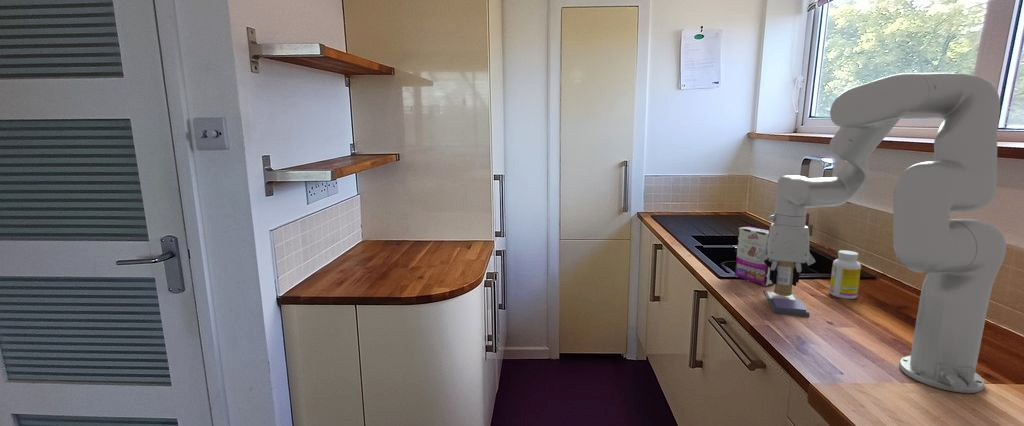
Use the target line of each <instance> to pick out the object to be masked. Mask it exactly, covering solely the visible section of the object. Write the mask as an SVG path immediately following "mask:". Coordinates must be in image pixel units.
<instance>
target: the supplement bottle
mask: <svg viewBox="0 0 1024 426" xmlns="http://www.w3.org/2000/svg"><path fill="white" fill-rule="evenodd" d="M837 256H838V258H836V259H834V260H833V262H832V267H831V277H830V285H829V293H830V295H832V296H834V297H836V298H840V299H843V300H844V299H845V300H853V299H854V300H855V299H856V298H857V297H858V294H859V293H858V292H859V287H860V279H861V278H860V277H861V272H862V271H861V270H862V265H861V263H860V262H859V261H857V260H858V259H859V253H858V252H856V251H852V250H845V249H843V250H842V249H841V250H839V251H838V252H837Z"/></svg>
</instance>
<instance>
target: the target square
mask: <svg viewBox="0 0 1024 426" xmlns="http://www.w3.org/2000/svg"><path fill="white" fill-rule="evenodd" d="M763 293H764V295H765V298H766V300H767V301H768V302H769V298H779V299H790V300H799V298H798V297H797V295H796V293H794V292H792V295H790V296H781V295H777V294H775V293H774V290H764V289H763Z"/></svg>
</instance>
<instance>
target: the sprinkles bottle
mask: <svg viewBox="0 0 1024 426" xmlns="http://www.w3.org/2000/svg"><path fill="white" fill-rule="evenodd" d="M776 270H777V278H776V284H774V287H773V288H774V290H773V291H774V293H775V294H777V295H781V296H790V295H792V293H793V292H792V290H793V285H792V283H793V270H794V262H781V261H778V263H777V266H776Z"/></svg>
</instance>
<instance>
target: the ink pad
mask: <svg viewBox="0 0 1024 426" xmlns="http://www.w3.org/2000/svg"><path fill="white" fill-rule="evenodd" d="M768 303H769V305H770V307H771V310H772V311H773V313H774V314H779V315H785V316H786V315H788V316H797V317H805V318H806V317H807V318H810V314H811V313H810V311H809V310H808V308H807V307H806V305H805V304H804V302H803V301H801V300H800V299H798V300H790V299H779V298H769V301H768Z"/></svg>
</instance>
